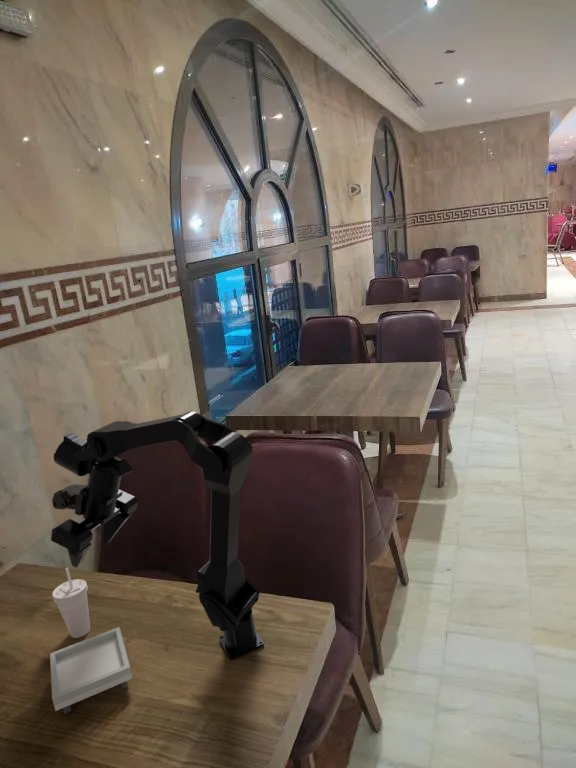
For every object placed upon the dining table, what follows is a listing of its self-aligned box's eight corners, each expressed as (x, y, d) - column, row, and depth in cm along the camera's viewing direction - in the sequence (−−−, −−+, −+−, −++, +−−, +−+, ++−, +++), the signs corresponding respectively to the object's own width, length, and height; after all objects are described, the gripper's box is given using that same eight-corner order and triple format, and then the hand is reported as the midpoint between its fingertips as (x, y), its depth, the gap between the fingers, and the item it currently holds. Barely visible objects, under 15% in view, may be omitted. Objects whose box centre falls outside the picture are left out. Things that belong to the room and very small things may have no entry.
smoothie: (85, 643, 103) (69, 578, 100) (56, 642, 104) (39, 578, 101) (103, 620, 109) (88, 559, 106) (75, 620, 110) (59, 559, 107)
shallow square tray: (135, 688, 90) (130, 667, 89) (58, 721, 85) (52, 699, 84) (124, 646, 100) (119, 626, 99) (55, 673, 96) (49, 653, 95)
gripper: (99, 453, 112) (88, 517, 117) (31, 488, 95) (21, 561, 99) (145, 473, 109) (131, 538, 114) (83, 513, 92) (70, 587, 97)
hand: (90, 554), depth 106 cm, fingers open, 9 cm apart
